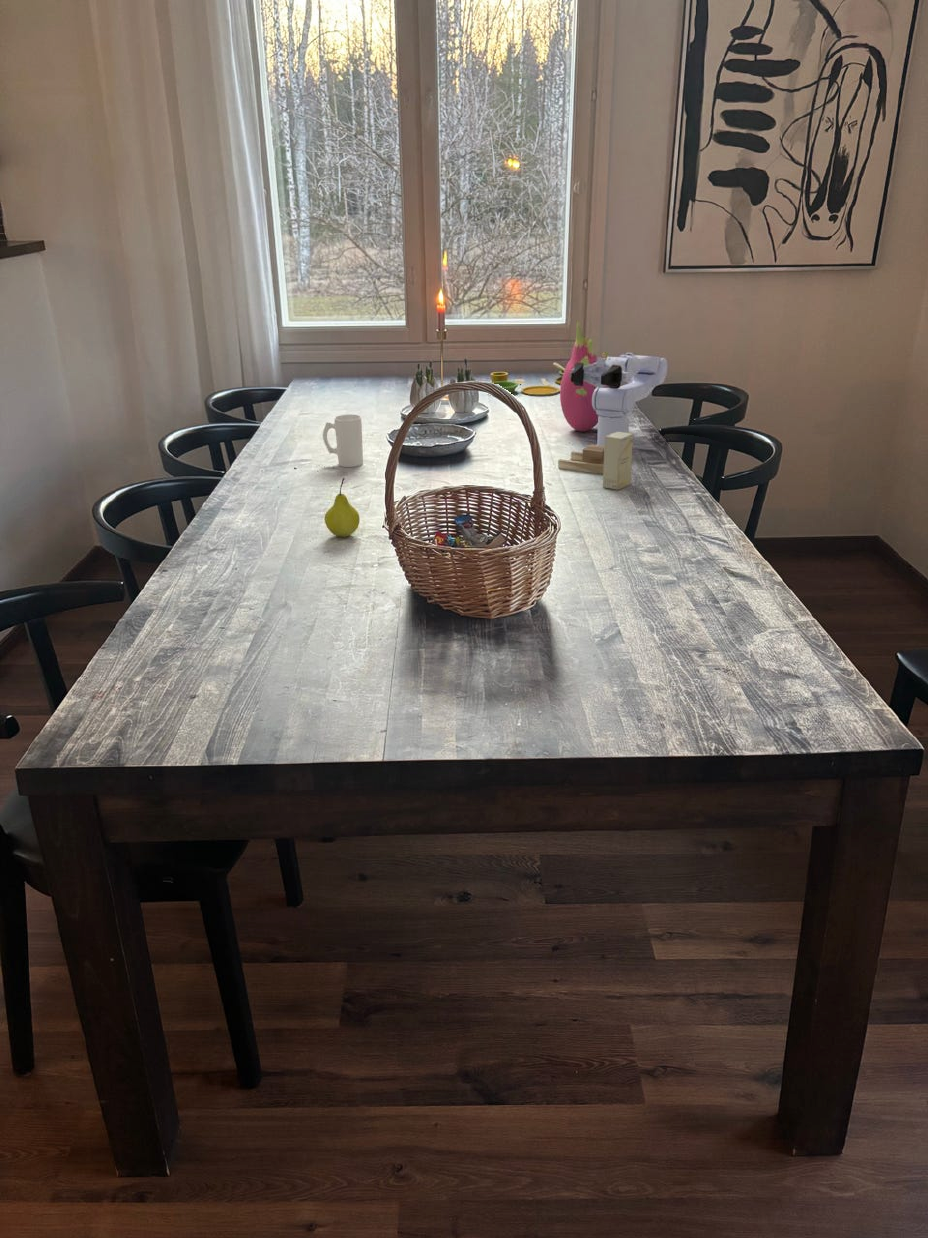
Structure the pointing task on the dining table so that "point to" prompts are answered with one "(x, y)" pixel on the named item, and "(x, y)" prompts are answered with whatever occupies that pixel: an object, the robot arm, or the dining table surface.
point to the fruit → (342, 517)
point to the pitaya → (579, 387)
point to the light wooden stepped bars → (579, 464)
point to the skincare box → (617, 460)
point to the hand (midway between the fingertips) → (587, 378)
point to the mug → (346, 439)
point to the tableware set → (532, 390)
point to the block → (593, 454)
